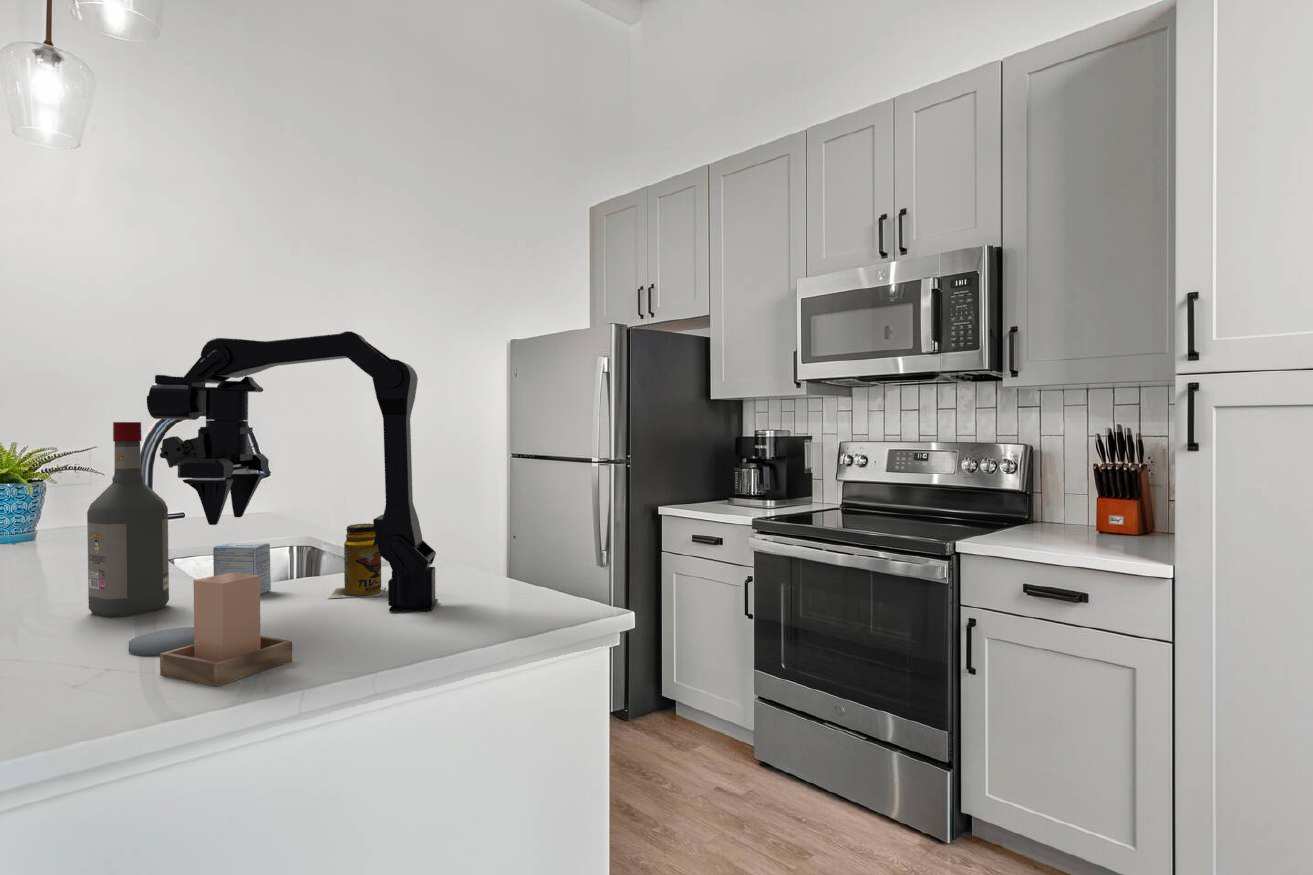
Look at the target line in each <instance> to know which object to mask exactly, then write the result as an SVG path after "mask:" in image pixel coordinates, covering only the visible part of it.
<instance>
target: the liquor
mask: <svg viewBox="0 0 1313 875" xmlns="http://www.w3.org/2000/svg"><path fill="white" fill-rule="evenodd" d="M112 441H113V442H114V471H113V472H114V474H113V476H112V479H111V480H112V482H111V483H110V485H109V486H108V487H106V489H105V490H103V491H102V493H100V495H98V496H97V497H96V499H95V500H94V501H93V502H91V503H90V505H89V507H88V510H87V513H86V516H87V518H86V524H87V525H86V526H87V570H88V571H87V577H88V578H87V581H88V584H87V586H88V587H87V589H88V590H87V591H88V593H87V594H88V598H87V599H88V610H89V611H90V612H91V613H92V614H93V615H97V616H101V617H106V618H118V617H120V618H121V617H131V616H135V615H140V614H144V613H149V612H150V613H151V612H154V611H158V610H162V609H163V608H165V607H166V606H167V603H168V602H169V600H170V576H169V574H170V573H169V572H170V571H169V569H170V568H169V565H170V564H169V511H168V510H169V509H168V506H167V503H166V501H165V500H164V499H163V498H162V497H161V496H159V495H158V494H157V493H156V492H155V491H154V490H153V489H152V488H151V487H150V486H148V484H146V483H145V482H144V476H143V475H142V461H141V460H142V457H141V442H142V422H141V421H134V422H133V421H112Z"/></svg>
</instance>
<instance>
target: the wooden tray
mask: <svg viewBox="0 0 1313 875" xmlns="http://www.w3.org/2000/svg"><path fill="white" fill-rule="evenodd" d="M260 639H261V649H260V650H256V651H253V652H250V653H247V654H244V655H240V656H237V657H234V658H231V659H228V660H224V661H221V662H215V661H210V660H204V659H199V658H195V655H194V644H193V645H189V646H186V647H182V648H178V649H175V650H171V651H168V652H164V653H161V654H160V655H159V671H160V672H159V675H161V676H166V677H169V678H174V679H179V680H186V681H190V682H195V683H198V684H199V683H200V684H203V685H204V684H205V685H209V686H212V687H213V686H214V687H221V686H223V685H227V684H229V683H232V682H235V681H238V680H240V679H244V678H246V677H249V676H252V675H255V674H258V673H261V672H264V671H267V670H269V669H274V668H276V667H278V666H281V665H284V664H287V663H290V662H293V640H289V639H282V638H275V637H270V636H262V635H260Z"/></svg>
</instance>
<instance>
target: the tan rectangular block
mask: <svg viewBox="0 0 1313 875" xmlns="http://www.w3.org/2000/svg"><path fill="white" fill-rule="evenodd" d="M193 627H194V655H195V658H199V659H204V660H210V661H215V662H221V661H224V660H228V659H231V658H234V657H237V656H240V655H244V654H247V653H250V652H253V651H256V650H260V649H261V639H260V636H261V595H260V576H258V575H249V574H240V573H227V574H222V575H217V576H214V575H213V576H208V577H203V578H197V579H194V580H193Z"/></svg>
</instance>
